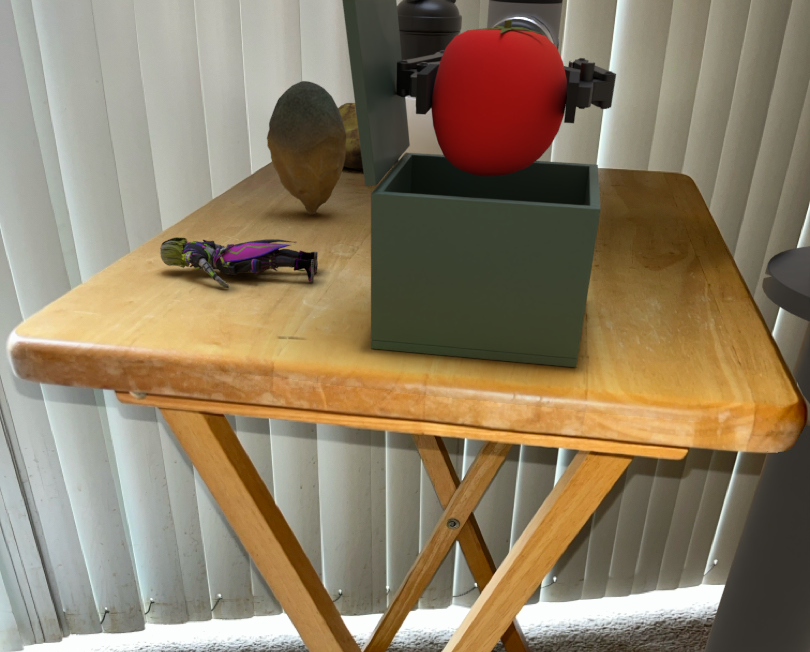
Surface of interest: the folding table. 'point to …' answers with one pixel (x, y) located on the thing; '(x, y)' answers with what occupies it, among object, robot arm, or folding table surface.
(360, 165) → the potato
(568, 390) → the folding table surface
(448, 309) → the storage box
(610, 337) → the folding table surface
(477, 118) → the tomato
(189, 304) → the folding table surface
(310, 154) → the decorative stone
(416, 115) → the cup
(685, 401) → the folding table surface
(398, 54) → the lid
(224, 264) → the character figure
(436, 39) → the water bottle
